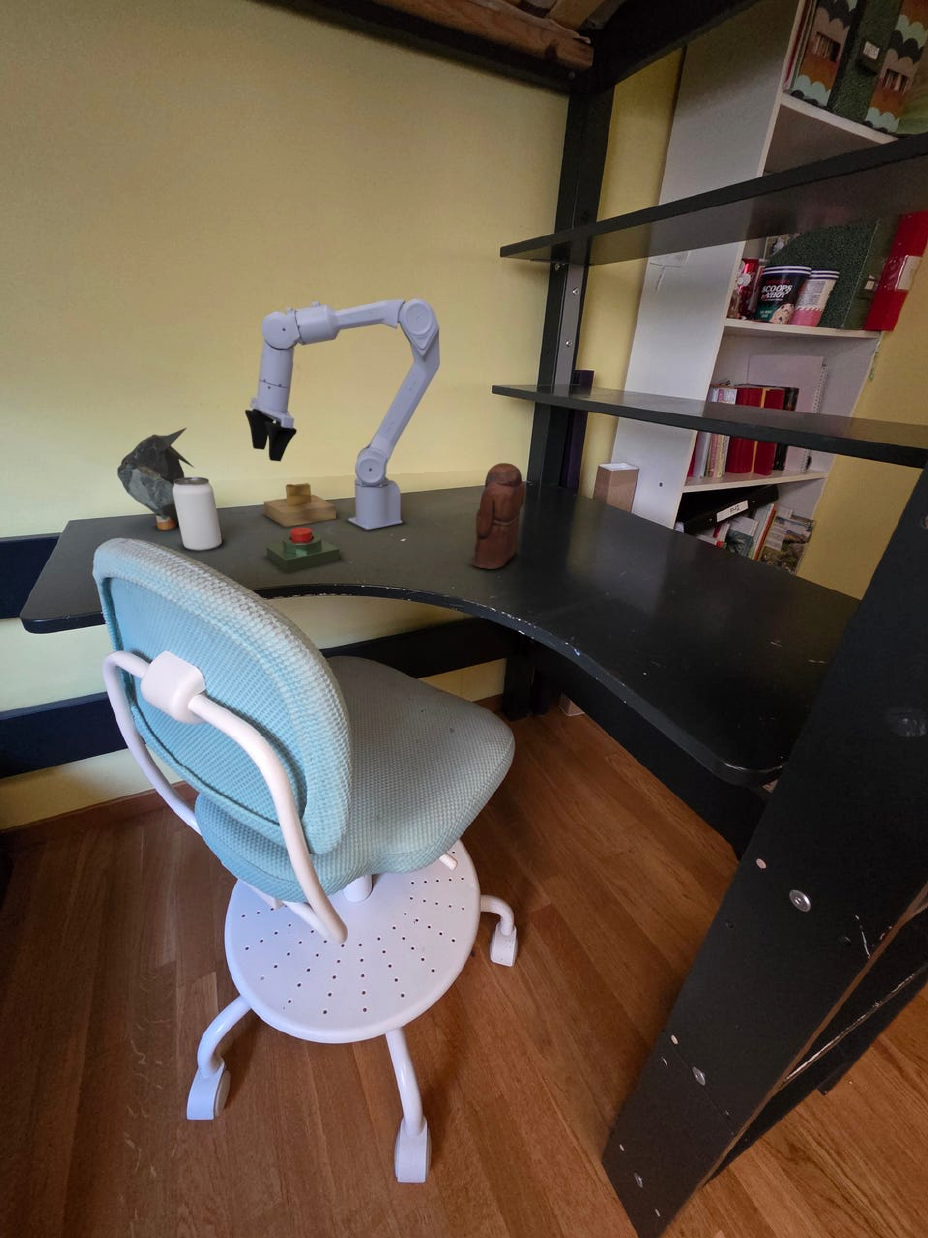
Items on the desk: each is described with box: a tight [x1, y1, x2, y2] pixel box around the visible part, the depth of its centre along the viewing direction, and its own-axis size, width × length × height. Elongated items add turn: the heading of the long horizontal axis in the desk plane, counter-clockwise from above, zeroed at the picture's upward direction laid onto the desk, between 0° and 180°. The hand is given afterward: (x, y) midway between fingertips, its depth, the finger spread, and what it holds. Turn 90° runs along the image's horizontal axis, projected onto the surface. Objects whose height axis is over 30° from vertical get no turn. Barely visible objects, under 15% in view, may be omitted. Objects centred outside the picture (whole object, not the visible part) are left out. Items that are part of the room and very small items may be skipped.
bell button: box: [289, 527, 313, 542], centre depth 90 cm, size 4×4×2 cm
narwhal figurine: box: [117, 427, 194, 531], centre depth 101 cm, size 14×15×18 cm
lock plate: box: [263, 494, 337, 528], centre depth 113 cm, size 12×10×3 cm
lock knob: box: [285, 482, 312, 505], centre depth 111 cm, size 5×1×4 cm, turn 132°
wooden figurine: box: [472, 462, 526, 570], centre depth 94 cm, size 12×6×18 cm, turn 156°
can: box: [173, 476, 223, 552], centre depth 92 cm, size 6×6×12 cm
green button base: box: [265, 532, 340, 573], centre depth 92 cm, size 10×8×4 cm
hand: (266, 454), depth 103 cm, fingers open, 7 cm apart
